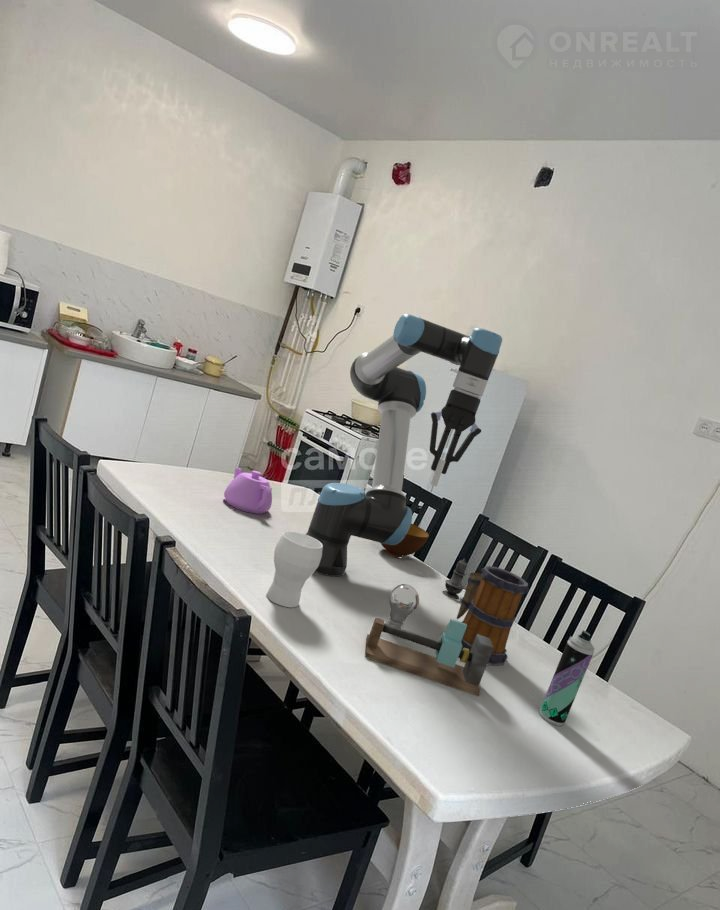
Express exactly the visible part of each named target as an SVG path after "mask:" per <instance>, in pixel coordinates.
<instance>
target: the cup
mask: <svg viewBox="0 0 720 910" xmlns="http://www.w3.org/2000/svg"><path fill="white" fill-rule="evenodd" d="M322 549H323V545H322V543H321V542H320V541H318V540H317V539H315V538H313V537H311V536H308V535H306V533H302V532H297V531H294V530H286V531H283V533H282V534H281V536H280V537H279V539H278V541H277V542H276V545H275V547H274V551H273V554H274V555H273V564H274V568H275V571H274V576H273V580H272V582H271V585H270V586H269V588H268V590H267V592H266V598H267V599H268V600H269V601H271V602H272V603H274V604H275V605H279V606H281V607H286V608H296V607H298V606H299V605H300V599H301V594H302V590H303V588H304V585H305V583H306V581H307V580H308V579H309V578H310V577H312V575H314V574H315V573H316V572H315V570H316V569H317V568H318V566H319V563H320V560H321V557H322Z"/></svg>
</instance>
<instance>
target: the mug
mask: <svg viewBox="0 0 720 910" xmlns="http://www.w3.org/2000/svg"><path fill="white" fill-rule="evenodd" d="M467 579H468V580H467V585H466V588H465V591H464V595H463V597H462V598H461V601H460V607H459V609H458V612H457V615H456V619H457V620H458V619H461V618H462V617H463V616H464V615H465V616H464V618H463V620H462V621H461V622H462V623H465V624H467V628H466V630H465V633H464V635H463V638H462V641H461V643H462V649H463V648H467V649H469V652H470V650H471V648H472V645H473V643H474V640H475V638H476V635H477V634H479V635H482V636H485V637H487V638H490V640H491V642H492V645H493V651H492V653H491V656H490V658H489V661H488V663H487V666H491V667H501V666H504V664H505V663H506V661H507V659H508V655H507V654H506V653H507V649H506V646H507V643H508V639H509V636H510V632H511V629H512V627H513V624H514V622H515V620H516V617H515V615H516V612H517V610H518V607H519V604H520V602H521V600H522V597H523V595H525V594H527V593H529V591H530V587H529V583H528V582H527V581H526V580H525V579H524V578H522V577H521V576H519V575H517V574H515V573H513V572H511V571H508V570H506V569H505V568H504V569H503V568H500V567H496V566H491V565H485V566H484V567H483V568H481V569H480V572H471V573H469V576H468V578H467ZM462 649H461V650H462Z"/></svg>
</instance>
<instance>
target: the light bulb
mask: <svg viewBox="0 0 720 910" xmlns="http://www.w3.org/2000/svg"><path fill="white" fill-rule="evenodd" d="M388 601H389V607H390V612H389V617H390V618H389V620H388V622H387V624H388V625H391V626H394V627H397V628H400V629H402V627H403V625H404V623H405V621H406V620H407V619H408V617H409V616H410V615H411V614H413V613H414V612H415V611H416V610H417V609H418V607H419V605H420V596H419V593H418V591H417V589H416V588H415V587H414V586H412V585H411V584H407V583H401V584H399V585H398V584H397V586H395V587H393V588H392V589H391V592H390V593H389V599H388Z"/></svg>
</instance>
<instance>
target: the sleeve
mask: <svg viewBox="0 0 720 910" xmlns="http://www.w3.org/2000/svg"><path fill="white" fill-rule="evenodd" d="M462 622H463V621H459V620H456V619H453V618H450V619H449V622H448V625H447V627H446V630H445V632H443V631H442V633H441V636H440V638H439V641H438V642H441V643H442V646H441V648H440V651H438V650H435V652H434V655H435V656H434V657H436V662H439V663H442V664H445V665H448V666H451V667H455V664H457V662H458V659H459V658H458V657H459V654H460V651H461V649H462V643H461V641H462V638H463V635H464V633H465V630H466V628H467V624H465V623H462Z"/></svg>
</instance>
